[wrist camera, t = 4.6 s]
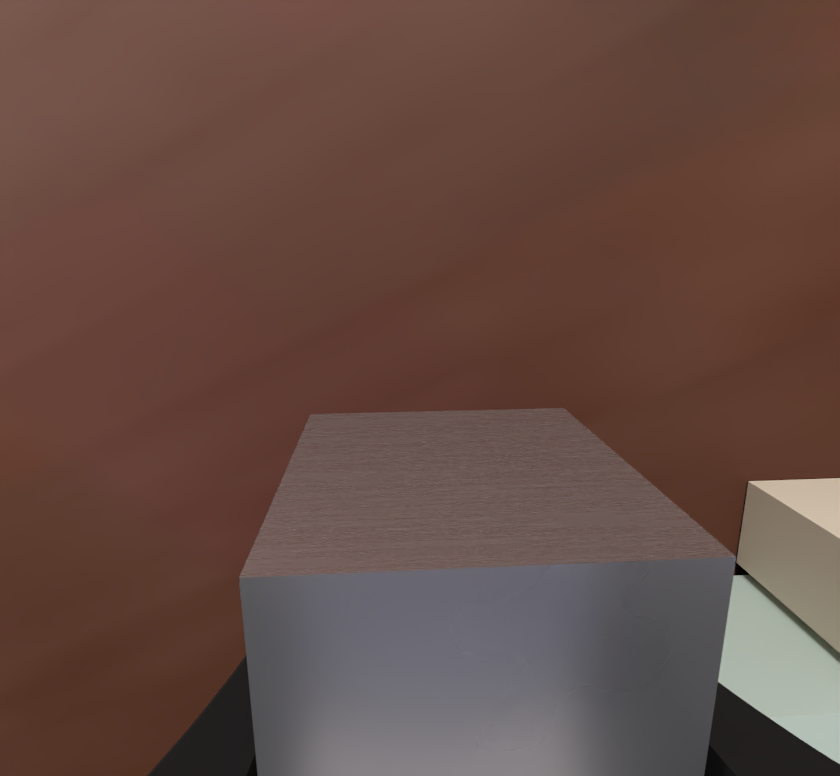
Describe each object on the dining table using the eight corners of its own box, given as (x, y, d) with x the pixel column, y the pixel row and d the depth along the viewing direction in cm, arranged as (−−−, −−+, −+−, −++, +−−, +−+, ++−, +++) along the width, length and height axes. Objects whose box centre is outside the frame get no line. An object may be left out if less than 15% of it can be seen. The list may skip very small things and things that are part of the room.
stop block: (563, 408, 10) (736, 557, 5) (542, 767, 12) (652, 1122, 7) (310, 414, 10) (238, 577, 5) (330, 781, 12) (294, 1162, 7)
